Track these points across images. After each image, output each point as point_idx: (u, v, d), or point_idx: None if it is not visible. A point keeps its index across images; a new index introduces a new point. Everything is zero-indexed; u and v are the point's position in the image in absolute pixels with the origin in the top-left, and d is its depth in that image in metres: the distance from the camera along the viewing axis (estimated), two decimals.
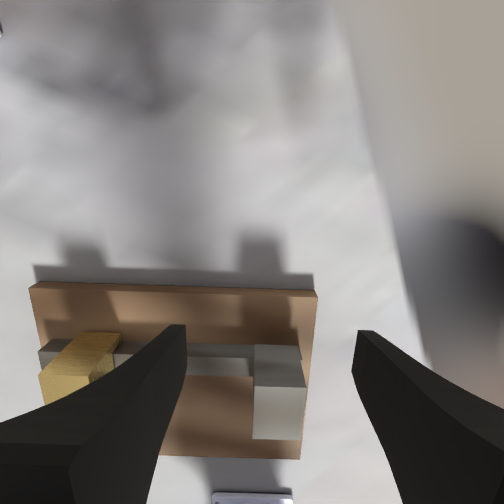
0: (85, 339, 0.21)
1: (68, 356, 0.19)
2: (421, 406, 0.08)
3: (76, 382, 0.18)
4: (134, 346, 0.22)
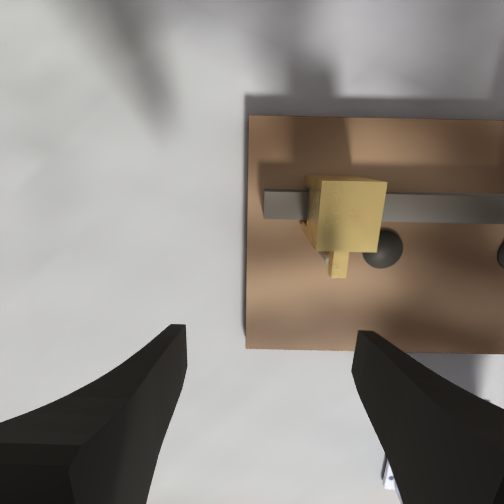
0: (323, 176, 0.17)
1: (329, 178, 0.15)
2: (421, 406, 0.08)
3: (370, 191, 0.14)
4: None
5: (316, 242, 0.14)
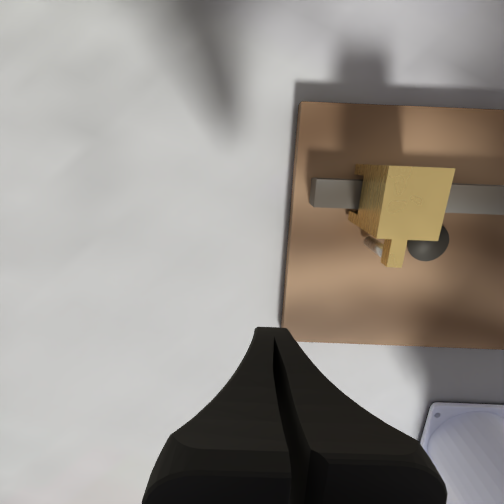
0: None
1: (388, 165, 0.15)
2: (289, 402, 0.08)
3: (436, 177, 0.13)
4: None
5: (377, 229, 0.14)
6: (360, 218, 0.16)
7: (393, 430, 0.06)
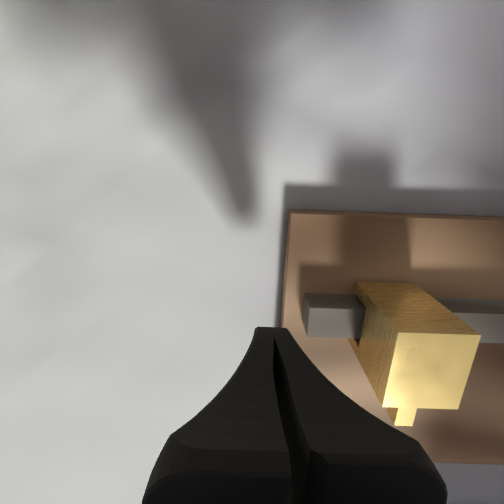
0: (380, 289, 0.14)
1: (396, 309, 0.12)
2: (289, 402, 0.08)
3: (457, 345, 0.11)
4: None
5: (383, 396, 0.12)
6: (362, 356, 0.14)
7: (393, 430, 0.06)
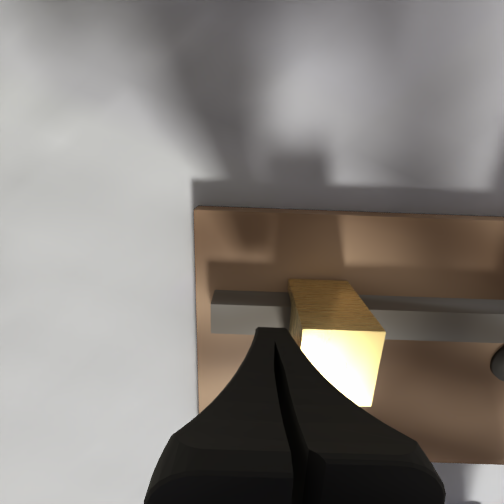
0: (308, 287, 0.14)
1: (314, 306, 0.12)
2: (288, 402, 0.08)
3: (363, 342, 0.11)
4: None
5: None
6: None
7: (391, 430, 0.06)
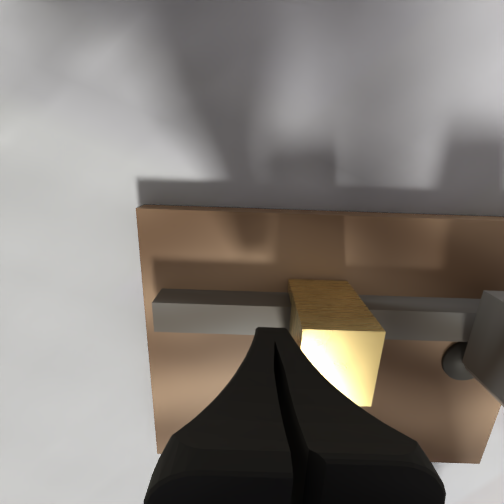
0: (308, 287, 0.14)
1: (314, 306, 0.12)
2: (288, 402, 0.08)
3: (363, 341, 0.11)
4: (287, 298, 0.15)
5: None
6: None
7: (391, 430, 0.06)
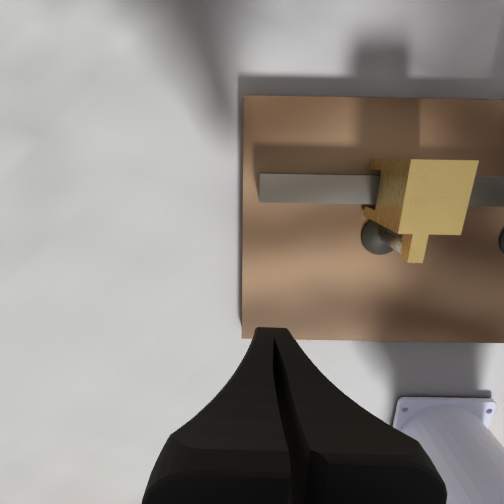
0: None
1: None
2: (289, 402, 0.08)
3: (460, 170, 0.13)
4: (371, 174, 0.17)
5: (398, 224, 0.14)
6: (378, 213, 0.16)
7: (393, 430, 0.06)
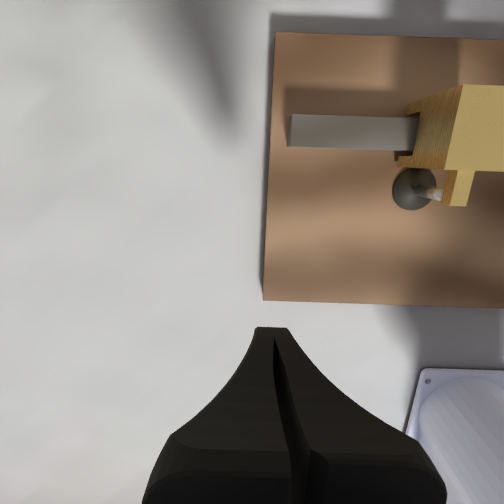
0: None
1: None
2: (289, 402, 0.08)
3: None
4: None
5: (445, 159, 0.13)
6: (417, 157, 0.15)
7: (393, 430, 0.06)
